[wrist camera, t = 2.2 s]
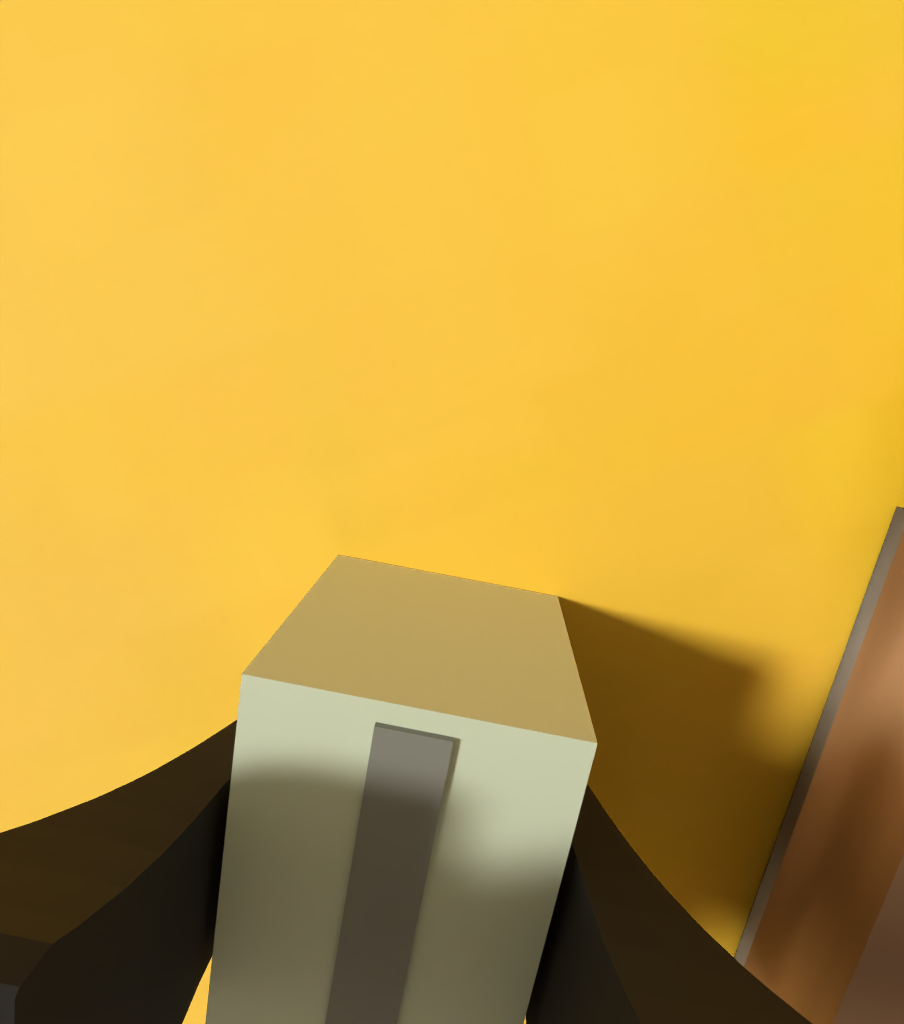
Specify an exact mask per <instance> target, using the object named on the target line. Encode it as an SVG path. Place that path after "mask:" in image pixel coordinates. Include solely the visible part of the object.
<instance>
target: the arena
mask: <svg viewBox="0 0 904 1024" xmlns="http://www.w3.org/2000/svg"><path fill="white" fill-rule="evenodd" d="M734 958H735V959H736V960H737V961H738V962H739V963H740V964H741V965H742V966H743V967H744V968H746V969H747V970H748V971H749V972H750V973H751V974H752V975H754V976H755V977H756V978H757V979H758V980H759V981H761V982H762V983H763V984H764V985H765V986H766V987H768V988H769V989H770V990H771V991H772V992H774V993H775V994H776V995H777V996H779V997H780V998H781V999H782V1000H784V1001H785V1002H786V1003H787V1004H789V1005H790V1006H791V1007H792V1008H793V1009H795V1010H796V1011H797V1012H798V1013H800V1014H801V1015H802V1016H803V1017H805V1018H806V1019H807V1020H808V1021H810V1022H811V1023H812V1024H904V508H901V507H896V510H895V513H894V515H893V518H892V521H891V524H890V526H889V529H888V532H887V535H886V538H885V540H884V543H883V546H882V549H881V551H880V554H879V557H878V560H877V563H876V565H875V568H874V571H873V574H872V576H871V579H870V582H869V585H868V588H867V590H866V593H865V596H864V599H863V601H862V604H861V607H860V610H859V613H858V615H857V618H856V621H855V624H854V626H853V629H852V632H851V635H850V638H849V640H848V643H847V646H846V649H845V651H844V654H843V657H842V660H841V663H840V665H839V668H838V671H837V674H836V676H835V679H834V682H833V685H832V688H831V690H830V693H829V696H828V699H827V701H826V704H825V707H824V710H823V713H822V715H821V718H820V721H819V724H818V726H817V729H816V732H815V735H814V738H813V740H812V743H811V746H810V749H809V751H808V754H807V757H806V760H805V763H804V765H803V768H802V771H801V774H800V776H799V779H798V782H797V785H796V788H795V790H794V793H793V796H792V799H791V801H790V804H789V807H788V810H787V813H786V815H785V818H784V821H783V824H782V826H781V829H780V832H779V835H778V838H777V840H776V843H775V846H774V849H773V851H772V854H771V857H770V860H769V863H768V865H767V868H766V871H765V874H764V876H763V879H762V882H761V885H760V888H759V890H758V893H757V896H756V899H755V901H754V904H753V907H752V910H751V913H750V915H749V918H748V921H747V924H746V926H745V929H744V932H743V935H742V937H741V940H740V943H739V946H738V949H737V951H736V954H735V957H734Z"/></svg>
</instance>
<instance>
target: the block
mask: <svg viewBox="0 0 904 1024" xmlns="http://www.w3.org/2000/svg"><path fill="white" fill-rule="evenodd" d="M597 744H598V743H597V739H596V735H595V732H594V728H593V724H592V721H591V717H590V713H589V710H588V706H587V702H586V699H585V695H584V691H583V688H582V684H581V680H580V676H579V673H578V669H577V665H576V662H575V658H574V654H573V651H572V647H571V643H570V640H569V636H568V632H567V629H566V625H565V621H564V618H563V614H562V610H561V607H560V603H559V599H558V596H554V595H548V594H543V593H538V592H533V591H527V590H522V589H517V588H512V587H506V586H501V585H496V584H490V583H485V582H480V581H475V580H469V579H464V578H459V577H454V576H448V575H443V574H438V573H433V572H427V571H422V570H417V569H412V568H406V567H401V566H396V565H391V564H385V563H380V562H375V561H369V560H364V559H359V558H354V557H348V556H343V555H338V556H337V557H336V558H335V560H334V561H333V562H332V563H331V565H330V566H329V567H328V568H327V570H326V571H325V572H324V573H323V575H322V576H321V577H320V578H319V579H318V581H317V582H316V583H315V584H314V586H313V587H312V588H311V589H310V591H309V592H308V593H307V594H306V596H305V597H304V598H303V599H302V600H301V602H300V603H299V604H298V605H297V607H296V608H295V609H294V610H293V612H292V613H291V614H290V615H289V617H288V618H287V619H286V620H285V621H284V623H283V624H282V625H281V626H280V628H279V629H278V630H277V631H276V633H275V634H274V635H273V636H272V638H271V639H270V640H269V641H268V642H267V644H266V645H265V646H264V647H263V649H262V650H261V651H260V652H259V654H258V655H257V656H256V657H255V659H254V660H253V661H252V662H251V663H250V665H249V666H248V667H247V668H246V670H245V671H244V672H243V673H242V678H241V688H240V697H239V707H238V717H237V726H236V736H235V745H234V755H233V765H232V774H231V784H230V793H229V803H228V812H227V822H226V832H225V841H224V851H223V860H222V870H221V880H220V889H219V899H218V908H217V918H216V927H215V937H214V947H213V956H212V966H211V975H210V985H209V995H208V1004H207V1014H206V1023H205V1024H523V1023H524V1019H525V1015H526V1012H527V1008H528V1004H529V1000H530V997H531V993H532V989H533V985H534V981H535V978H536V974H537V970H538V966H539V963H540V959H541V955H542V951H543V948H544V944H545V940H546V936H547V932H548V929H549V925H550V921H551V917H552V914H553V910H554V906H555V902H556V899H557V895H558V891H559V887H560V884H561V880H562V876H563V872H564V868H565V865H566V861H567V857H568V853H569V850H570V846H571V842H572V838H573V835H574V831H575V827H576V823H577V819H578V816H579V812H580V808H581V804H582V801H583V797H584V793H585V789H586V786H587V782H588V778H589V774H590V770H591V767H592V763H593V759H594V755H595V752H596V748H597Z"/></svg>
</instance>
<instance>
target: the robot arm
mask: <svg viewBox="0 0 904 1024" xmlns="http://www.w3.org/2000/svg"><path fill="white" fill-rule="evenodd" d="M236 726H237V720H236V721H234V722H233V723H231V724H230V725H228V726H227V727H225V728H224V729H222V730H221V731H219V732H218V733H216V734H215V735H213V736H211V737H210V738H208V739H207V740H205V741H204V742H202V743H200V744H199V745H197V746H196V747H194V748H192V749H191V750H189V751H187V752H186V753H184V754H182V755H180V756H179V757H177V758H175V759H173V760H172V761H170V762H168V763H166V764H165V765H163V766H161V767H159V768H158V769H156V770H154V771H152V772H150V773H148V774H146V775H144V776H142V777H140V778H138V779H136V780H134V781H132V782H130V783H128V784H126V785H124V786H122V787H119V788H117V789H115V790H113V791H111V792H109V793H106V794H104V795H102V796H100V797H97V798H95V799H93V800H90V801H88V802H85V803H82V804H80V805H77V806H75V807H72V808H69V809H67V810H64V811H62V812H59V813H56V814H54V815H51V816H48V817H46V818H43V819H41V820H38V821H35V822H32V823H29V824H27V825H23V826H20V827H17V828H14V829H11V830H8V831H5V832H2V833H0V1024H182V1023H183V1020H184V1018H185V1015H186V1013H187V1011H188V1008H189V1006H190V1004H191V1001H192V999H193V996H194V994H195V992H196V989H197V987H198V985H199V982H200V980H201V978H202V976H203V974H204V972H205V970H206V968H207V965H208V963H209V961H210V959H211V957H212V955H213V947H214V937H215V927H216V918H217V908H218V899H219V889H220V880H221V870H222V860H223V851H224V841H225V832H226V822H227V812H228V803H229V793H230V784H231V774H232V765H233V755H234V745H235V736H236ZM526 1024H812V1023H811V1022H810V1021H808V1020H807V1019H806V1018H805V1017H803V1016H802V1015H801V1014H800V1013H798V1012H797V1011H796V1010H795V1009H793V1008H792V1007H791V1006H790V1005H789V1004H787V1003H786V1002H785V1001H784V1000H782V999H781V998H780V997H779V996H777V995H776V994H775V993H774V992H772V991H771V990H770V989H769V988H768V987H766V986H765V985H764V984H763V983H762V982H761V981H759V980H758V979H757V978H756V977H755V976H754V975H752V974H751V973H750V972H749V971H748V970H747V969H746V968H744V967H743V966H742V965H741V964H740V963H739V962H738V961H737V960H736V959H735V958H734V957H733V956H731V955H730V954H729V953H728V952H727V951H726V950H725V949H724V948H723V947H722V946H721V945H720V944H719V943H718V942H716V941H715V940H714V939H713V938H712V937H711V936H710V935H709V934H708V933H707V932H706V931H705V930H704V929H703V928H702V927H701V926H700V925H699V924H698V923H697V922H696V921H695V920H694V919H693V918H692V917H691V916H690V915H689V914H688V913H687V911H686V910H685V909H684V908H683V907H682V906H681V905H680V904H679V903H678V902H677V901H676V900H675V899H674V897H673V896H672V895H671V894H670V893H669V892H668V891H667V890H666V889H665V888H664V886H663V885H662V884H661V883H660V882H659V881H658V880H657V878H656V877H655V876H654V875H653V874H652V872H651V871H650V870H649V869H648V867H647V866H646V865H645V864H644V862H643V861H642V860H641V859H640V857H639V856H638V855H637V854H636V852H635V851H634V850H633V849H632V847H631V846H630V845H629V843H628V842H627V841H626V839H625V838H624V837H623V835H622V834H621V833H620V831H619V830H618V829H617V827H616V826H615V824H614V823H613V821H612V820H611V819H610V817H609V816H608V814H607V813H606V811H605V810H604V808H603V807H602V805H601V804H600V802H599V801H598V799H597V798H596V796H595V795H594V793H593V792H592V790H591V789H590V787H589V786H588V784H587V786H586V789H585V793H584V797H583V801H582V804H581V808H580V812H579V816H578V819H577V823H576V827H575V831H574V835H573V838H572V842H571V846H570V850H569V853H568V857H567V861H566V865H565V868H564V872H563V876H562V880H561V884H560V887H559V891H558V895H557V899H556V902H555V906H554V910H553V914H552V917H551V921H550V925H549V929H548V932H547V936H546V940H545V944H544V948H543V951H542V955H541V959H540V963H539V966H538V970H537V974H536V978H535V981H534V985H533V989H532V993H531V997H530V1000H529V1004H528V1008H527V1012H526Z"/></svg>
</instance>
